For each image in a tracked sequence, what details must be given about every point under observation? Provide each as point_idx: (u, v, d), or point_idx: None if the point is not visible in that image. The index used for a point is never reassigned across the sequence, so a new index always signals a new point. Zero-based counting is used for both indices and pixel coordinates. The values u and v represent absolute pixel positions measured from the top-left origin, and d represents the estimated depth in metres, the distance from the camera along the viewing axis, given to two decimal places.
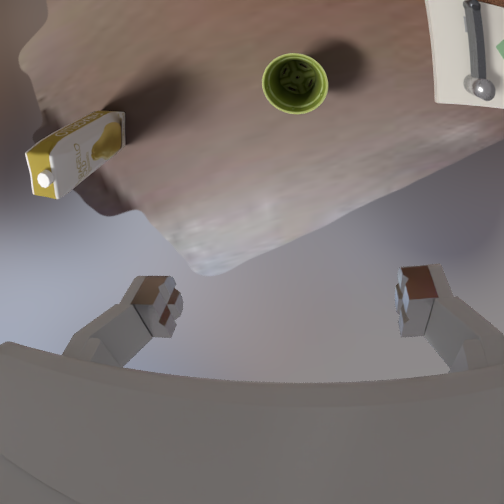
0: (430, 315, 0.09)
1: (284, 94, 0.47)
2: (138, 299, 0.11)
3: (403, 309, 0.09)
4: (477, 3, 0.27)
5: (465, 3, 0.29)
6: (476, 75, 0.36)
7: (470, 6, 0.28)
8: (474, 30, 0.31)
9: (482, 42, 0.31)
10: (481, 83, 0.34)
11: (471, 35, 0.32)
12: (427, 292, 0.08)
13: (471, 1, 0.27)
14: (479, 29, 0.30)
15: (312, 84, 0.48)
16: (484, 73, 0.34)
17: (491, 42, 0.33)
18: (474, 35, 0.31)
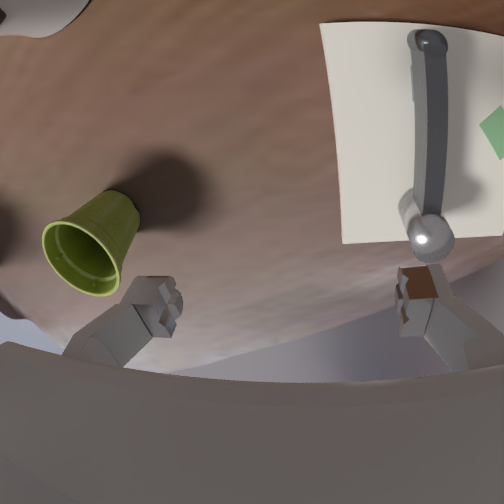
0: (430, 315, 0.09)
1: (97, 246, 0.34)
2: (139, 299, 0.11)
3: (403, 309, 0.09)
4: (439, 39, 0.14)
5: (411, 39, 0.16)
6: (419, 206, 0.23)
7: (421, 48, 0.15)
8: (425, 109, 0.17)
9: (442, 136, 0.18)
10: (423, 233, 0.21)
11: (420, 116, 0.19)
12: (427, 292, 0.08)
13: (423, 35, 0.14)
14: (439, 106, 0.17)
15: None
16: (437, 204, 0.21)
17: (471, 116, 0.20)
18: (425, 121, 0.18)
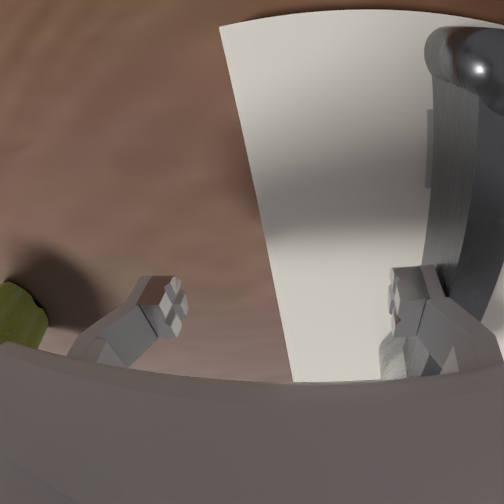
0: (422, 315, 0.09)
1: None
2: (144, 299, 0.11)
3: (395, 310, 0.09)
4: None
5: (437, 51, 0.06)
6: None
7: (471, 82, 0.05)
8: (457, 245, 0.07)
9: (480, 299, 0.08)
10: None
11: (439, 244, 0.09)
12: (419, 293, 0.08)
13: (479, 45, 0.04)
14: (491, 240, 0.07)
15: None
16: None
17: None
18: (449, 267, 0.08)
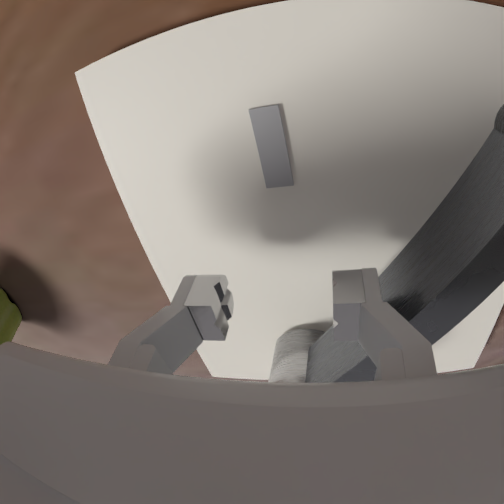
0: (360, 320, 0.09)
1: None
2: (193, 300, 0.10)
3: None
4: None
5: None
6: None
7: None
8: (449, 274, 0.08)
9: (434, 334, 0.09)
10: None
11: (420, 266, 0.09)
12: (354, 297, 0.09)
13: None
14: (479, 285, 0.07)
15: None
16: None
17: (415, 201, 0.11)
18: (427, 290, 0.08)
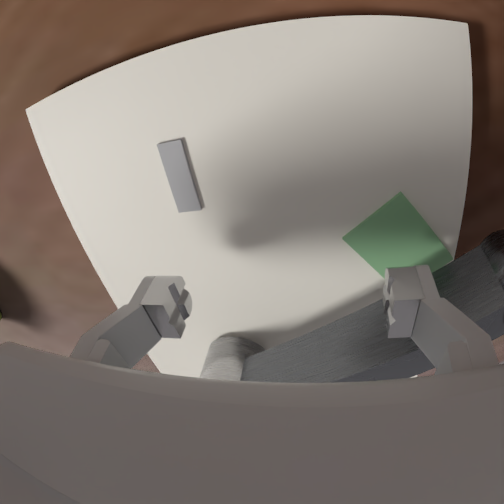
0: (417, 316, 0.09)
1: None
2: (148, 299, 0.11)
3: (390, 310, 0.09)
4: None
5: None
6: None
7: None
8: (402, 349, 0.10)
9: None
10: None
11: (377, 330, 0.11)
12: (413, 293, 0.08)
13: None
14: (421, 363, 0.10)
15: None
16: None
17: (319, 224, 0.12)
18: (379, 353, 0.10)
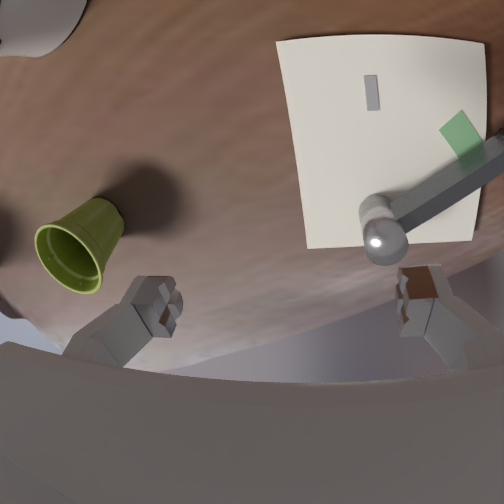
0: (430, 315, 0.09)
1: (86, 249, 0.36)
2: (139, 299, 0.11)
3: (403, 309, 0.09)
4: None
5: None
6: (397, 213, 0.24)
7: None
8: (476, 167, 0.20)
9: (465, 192, 0.21)
10: (392, 232, 0.23)
11: (462, 166, 0.21)
12: (427, 292, 0.08)
13: None
14: (485, 176, 0.20)
15: None
16: (413, 225, 0.24)
17: (429, 122, 0.22)
18: (467, 172, 0.20)
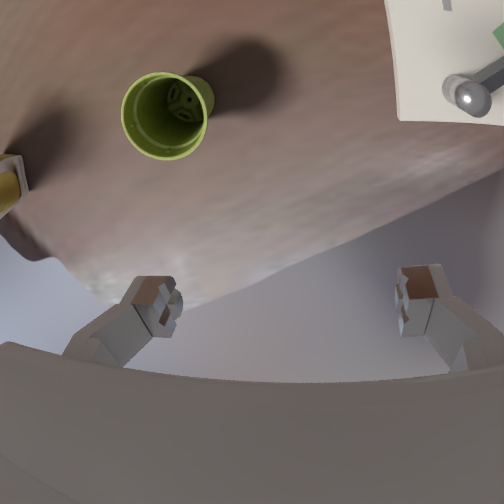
0: (430, 315, 0.09)
1: (168, 127, 0.35)
2: (139, 299, 0.11)
3: (403, 309, 0.09)
4: None
5: None
6: (476, 81, 0.23)
7: None
8: None
9: None
10: (480, 86, 0.21)
11: None
12: (427, 292, 0.08)
13: None
14: None
15: None
16: (490, 89, 0.22)
17: (485, 25, 0.21)
18: None
